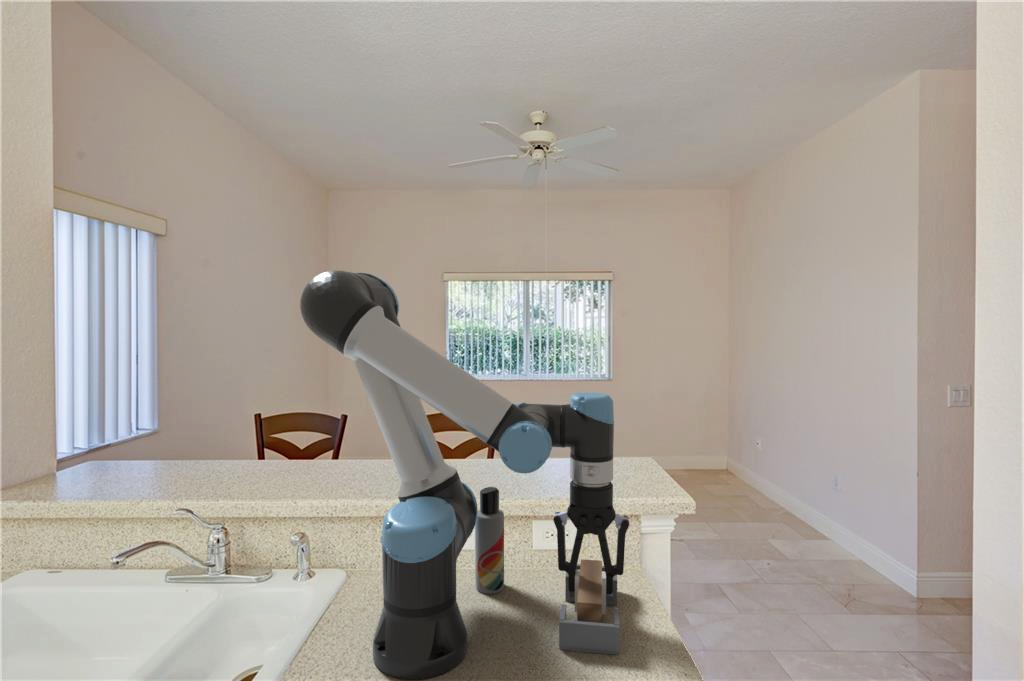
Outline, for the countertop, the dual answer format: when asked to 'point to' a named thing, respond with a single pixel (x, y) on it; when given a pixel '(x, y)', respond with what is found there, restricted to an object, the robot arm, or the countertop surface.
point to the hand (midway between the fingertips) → (590, 608)
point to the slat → (590, 592)
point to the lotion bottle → (489, 543)
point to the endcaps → (589, 628)
